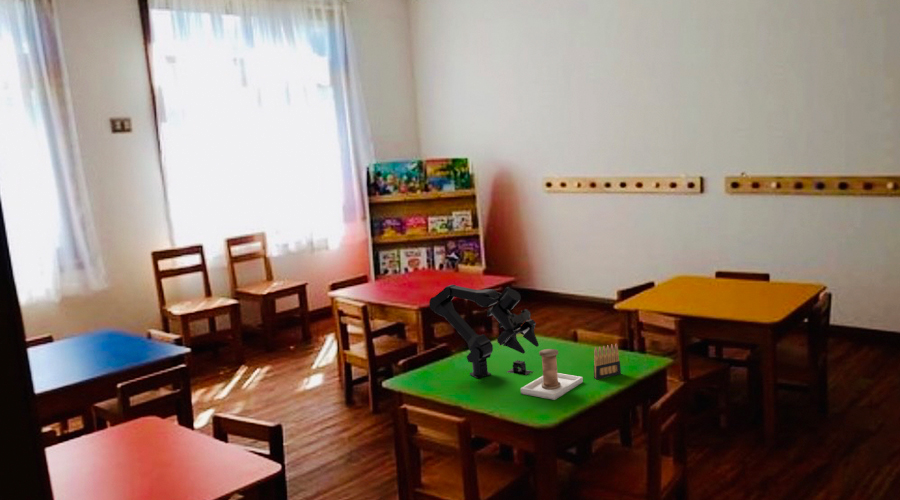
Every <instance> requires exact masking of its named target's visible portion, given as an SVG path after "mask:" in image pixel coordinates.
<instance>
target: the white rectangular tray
mask: <svg viewBox="0 0 900 500" xmlns="http://www.w3.org/2000/svg"><path fill="white" fill-rule="evenodd" d="M557 374H558V382H560V385H561V386H560V387H559V388H557V389H552V390H548V389H544V388H542V383H544V380H543V375H541V376H540V377H538V378H536V379H534V380H533V381H531V382H529V383H527V384H526V385H524V386H522V387H520V394H521V395H527V396H533V397H538V398H542V399H548V400H551V401H555V400H557V399H558V398H560V397H562V396H563V395H565V394H567V393H568V392H570V391H571V390H573V389H574V388H576V387H577V386H579V385H581V384H583V382H584V381H583V380H584V378H583V376H579V375H578V376H577V375H572V374H565V373H560V372H557Z"/></svg>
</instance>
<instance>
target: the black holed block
mask: <svg viewBox="0 0 900 500" xmlns="http://www.w3.org/2000/svg"><path fill="white" fill-rule="evenodd" d="M526 365H527V364H526V363H525V361H524V360H519V359H517V360H514V361H513V362H512V368H511V369H509V370H507V371H506V373H510V374H514V375H519V376H520V375H521V376H528V375H529V374H531V373H533V372H534V371H533V370H528V369H527V367H526Z"/></svg>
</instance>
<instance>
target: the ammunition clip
mask: <svg viewBox="0 0 900 500" xmlns="http://www.w3.org/2000/svg"><path fill="white" fill-rule="evenodd" d="M593 361H594V362H593V363H594V364H593V379H596V380H601V379H605V378H610V377H613V376H619V375H621V374H622V371H621V369H622V368H621V361H620V355H619V347H618V343H615V345H613V343H611V345H610V346H609V345H608V344H607V346H605V345H603V346H602V348H601V346H599V347H598V348H597V347H594V356H593Z"/></svg>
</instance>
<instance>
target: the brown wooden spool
mask: <svg viewBox="0 0 900 500" xmlns="http://www.w3.org/2000/svg"><path fill="white" fill-rule="evenodd" d="M538 354H539V356H541V364H542V376H543V380H544V383H542V388H544V389H548V390H552V389H557V388H559V387H560V386H561V385H560V382H558V374H557V373H558V364H557V355H559V350H558V349H554V348H545V349H541V350H539V352H538Z"/></svg>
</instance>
